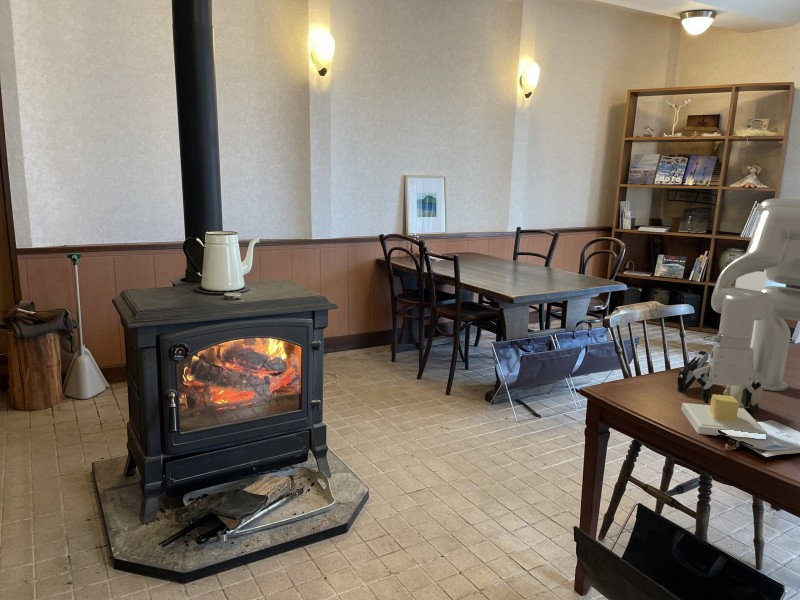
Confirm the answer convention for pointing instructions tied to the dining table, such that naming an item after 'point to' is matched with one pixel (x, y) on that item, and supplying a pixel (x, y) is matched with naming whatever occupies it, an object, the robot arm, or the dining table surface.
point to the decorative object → (737, 394)
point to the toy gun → (687, 373)
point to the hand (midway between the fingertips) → (724, 403)
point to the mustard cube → (724, 407)
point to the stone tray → (710, 425)
